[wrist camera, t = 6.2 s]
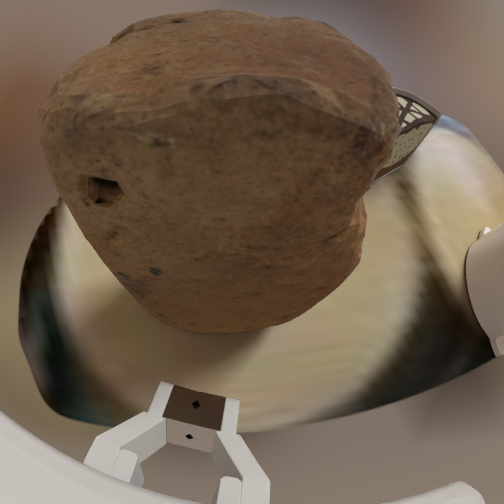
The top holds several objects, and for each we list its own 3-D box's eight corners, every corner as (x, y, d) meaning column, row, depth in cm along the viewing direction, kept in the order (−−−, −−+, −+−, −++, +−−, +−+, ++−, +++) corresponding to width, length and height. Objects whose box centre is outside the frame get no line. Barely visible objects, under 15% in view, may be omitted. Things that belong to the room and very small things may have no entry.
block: (159, 333, 21) (-29, 149, 3) (167, 247, 24) (108, 7, 6) (294, 336, 22) (515, 186, 4) (289, 252, 25) (400, 36, 7)
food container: (378, 133, 35) (407, 81, 26) (407, 162, 33) (443, 113, 24) (322, 155, 31) (351, 88, 22) (357, 192, 29) (399, 129, 20)
